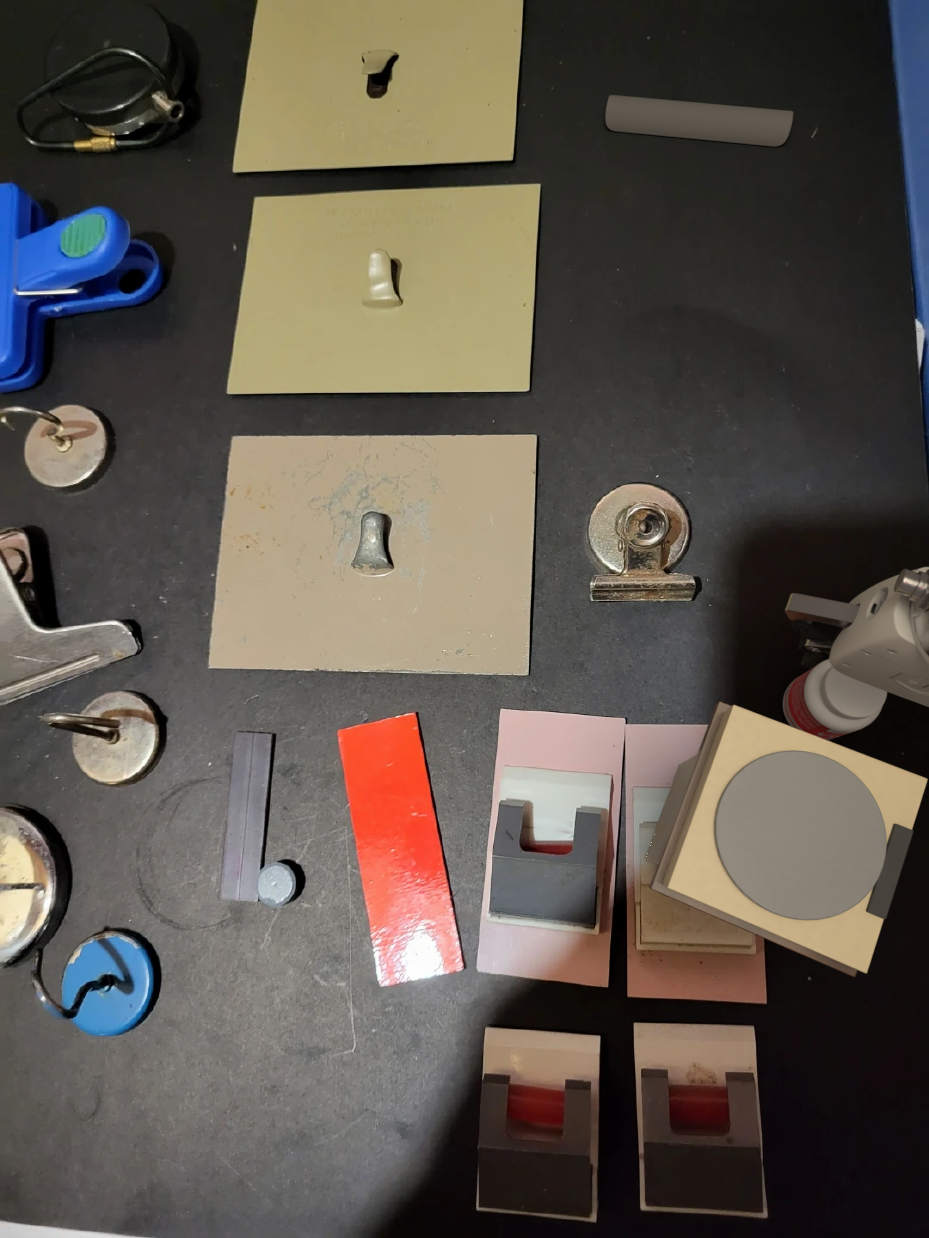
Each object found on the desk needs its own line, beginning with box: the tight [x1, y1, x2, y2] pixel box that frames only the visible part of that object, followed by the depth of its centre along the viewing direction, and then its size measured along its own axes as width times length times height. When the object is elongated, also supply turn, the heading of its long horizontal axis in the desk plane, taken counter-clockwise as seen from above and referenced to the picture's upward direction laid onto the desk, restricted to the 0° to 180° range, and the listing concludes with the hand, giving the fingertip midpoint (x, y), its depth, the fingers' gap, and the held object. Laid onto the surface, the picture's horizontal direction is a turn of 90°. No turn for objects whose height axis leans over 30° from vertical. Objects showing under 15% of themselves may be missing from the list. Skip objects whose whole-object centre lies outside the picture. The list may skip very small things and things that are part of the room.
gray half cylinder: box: [604, 94, 794, 147], centre depth 93 cm, size 4×20×2 cm, turn 77°
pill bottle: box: [782, 658, 888, 741], centre depth 73 cm, size 6×6×11 cm
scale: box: [662, 704, 928, 974], centre depth 49 cm, size 11×11×4 cm
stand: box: [644, 700, 858, 978], centre depth 64 cm, size 12×12×27 cm
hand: (878, 672), depth 62 cm, fingers open, 9 cm apart
